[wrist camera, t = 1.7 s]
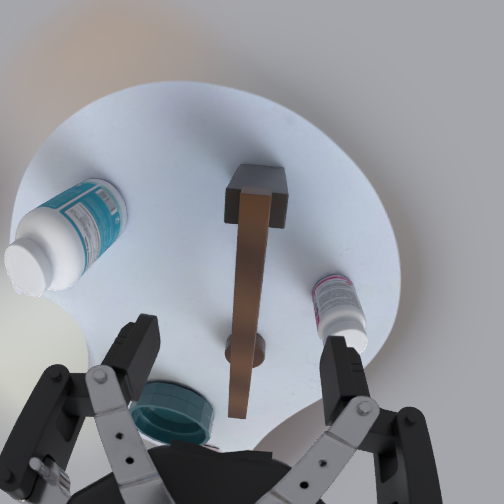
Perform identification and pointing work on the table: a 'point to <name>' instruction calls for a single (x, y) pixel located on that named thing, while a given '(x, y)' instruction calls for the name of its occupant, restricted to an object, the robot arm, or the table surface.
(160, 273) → the table surface
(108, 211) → the pill bottle
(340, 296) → the pill bottle
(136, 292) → the table surface
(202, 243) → the table surface
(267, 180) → the dark grey rubber eraser
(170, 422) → the bowl
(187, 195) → the table surface
